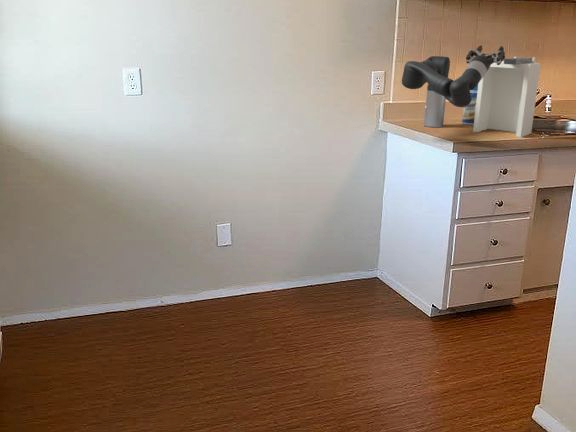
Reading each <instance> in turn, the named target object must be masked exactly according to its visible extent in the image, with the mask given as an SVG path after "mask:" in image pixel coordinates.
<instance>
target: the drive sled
mask: <svg viewBox="0 0 576 432" xmlns="http://www.w3.org/2000/svg"><path fill="white" fill-rule="evenodd" d="M532 59H533V57H528V56H527V57H525V56H523V57H522V56H521V57H517V58H514V57H510V58H509V57H508V58H505V59H504V60H503V61H504V64H513V65H517V64H526V63H532Z"/></svg>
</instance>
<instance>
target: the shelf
mask: <svg viewBox="0 0 576 432" xmlns="http://www.w3.org/2000/svg"><path fill="white" fill-rule="evenodd" d="M513 58H518V56H514V57H513ZM532 58H533V59H532V63H526V64H517V65H513V64H504V60H503V61H502V62H501V64H500V65H497V63H493V64H491V65H490V68H489V69H488V71H487V72H486V74H485V75H484V77H483V78H482V79H481V80H480V82H479V83H478V91H477V100H476V109H475V118H474V125H473V127H472V128H473V130H472V132H473V133H479V132H483V131H485V130H494V131H495V130H496V131H503V132H514V133H516V134H515V137H516V138H523V137H525V136H528V135H530V134H532V131H533V125H534V124H533V123H534V117H535V110H536V109H535V108H536V103H537V102H536V100H537V93H538V88H539V87H538V86H539V80H540V71H541V64H542V63H541V62H536V57H535V56H533V57H532ZM482 130H483V131H482Z"/></svg>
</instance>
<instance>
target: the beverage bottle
mask: <svg viewBox="0 0 576 432" xmlns="http://www.w3.org/2000/svg"><path fill="white" fill-rule="evenodd" d="M477 91H478V85H477V86H476V87H475V88H474V89H473V90H470V93H471V98H472V99H471V102H470V104H469V105H467V106H465V107H463V110H462V111H463V112H462V119H461V123H462V124H463V125H469V126H474V118H475V109H476V100H477Z"/></svg>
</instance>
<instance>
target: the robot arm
mask: <svg viewBox="0 0 576 432" xmlns="http://www.w3.org/2000/svg"><path fill="white" fill-rule="evenodd" d="M482 51H483V45H479V46H477V48H476V49H474V50H469V52H468V54H467V55H466V56H465V59H466V60H465V61H466V64H467V66H466V68H465V69H464V71H463V73H462V74H461V76H459V77H457V78H456V79H455V80H454V79H452V78H449V73H450V67H451V65H450V64H451V60H450V57H449V56H444V55H443V56H441V55H440V56H439V55H434V56H433V55H432V56H429V57H427V59H425V60H423V61H420V62H419V61H415V60H409V61H407V62H406V63H405V64H404V66H403V67H404V68H403V73H402V78H401V84H402V86H403V87H405V88H406V89H409V90H417V89H420V88H422V87H423V86H424V85H425V84H427V87H426V96H425V97H426V99H425V106H424V107H425V108H424V116H423V127H430V128H443V127H444V124H445V123H444V120H445V112H446V111H445V110H446V109H445V108H446V103H447V102H446V101H448V102H449V103H450V104H451V105H453V106H455V107H457V108H464V107H465V106H467V105H469V104H470V102H471V99H472V98H471V93H470V90H473V89H474V88H475V87H476V86H477V85H478V83H479V82H480V80H481V79H482V78H483V77H484V75H485V74H486V72H487V71H488V69H489V68H490V65H491V64H493V63H497V65H500V64H501V62H502V61H504V59H506V53H505V49H504V46H502V45H500V46H499V48H498V50H497V51H493V52H491V53H484V52H483V53H482Z"/></svg>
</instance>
